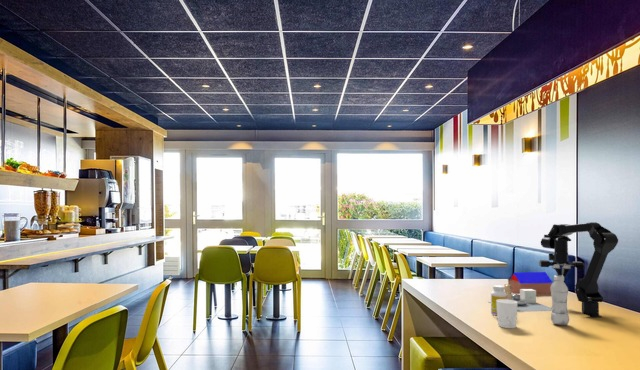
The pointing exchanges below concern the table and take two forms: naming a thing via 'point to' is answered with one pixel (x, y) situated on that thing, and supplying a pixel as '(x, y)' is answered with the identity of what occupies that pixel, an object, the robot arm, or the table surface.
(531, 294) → the stand
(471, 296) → the table surface
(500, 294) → the supplement bottle
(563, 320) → the plastic bottle
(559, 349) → the table surface
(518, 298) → the crank handle
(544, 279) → the house
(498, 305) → the white cup
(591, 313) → the robot arm
